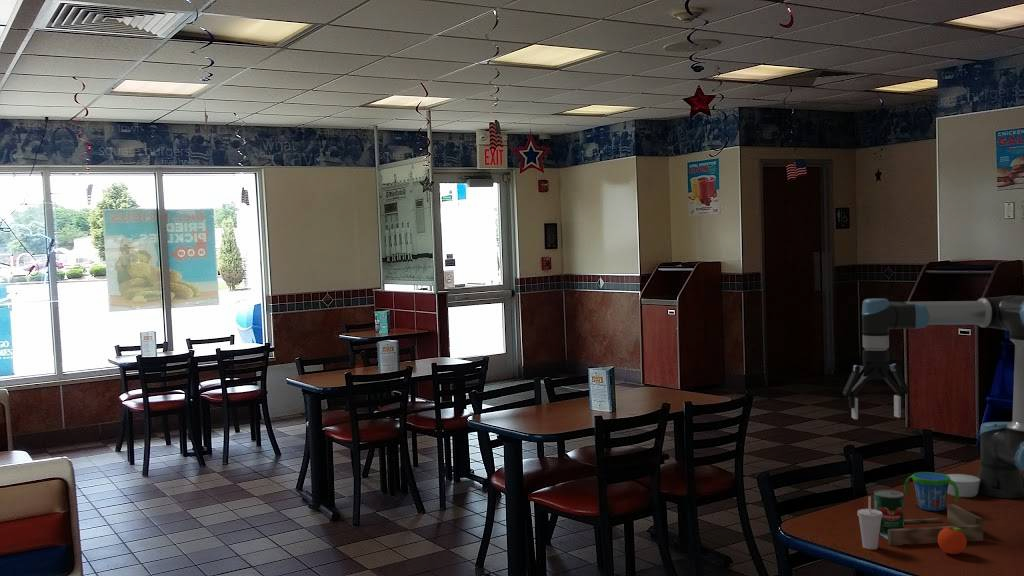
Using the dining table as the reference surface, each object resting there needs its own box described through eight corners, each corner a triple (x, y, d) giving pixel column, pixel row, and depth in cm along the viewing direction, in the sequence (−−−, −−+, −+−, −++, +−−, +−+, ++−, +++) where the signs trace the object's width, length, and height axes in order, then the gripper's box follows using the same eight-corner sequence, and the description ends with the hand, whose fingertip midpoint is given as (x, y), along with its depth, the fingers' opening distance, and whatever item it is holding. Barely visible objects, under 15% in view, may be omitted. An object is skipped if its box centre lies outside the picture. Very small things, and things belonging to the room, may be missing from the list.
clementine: (961, 548, 240) (961, 522, 240) (976, 557, 233) (976, 530, 233) (932, 549, 240) (932, 523, 240) (945, 558, 233) (945, 531, 233)
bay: (951, 520, 265) (951, 503, 265) (990, 540, 246) (990, 522, 246) (858, 524, 263) (858, 507, 262) (890, 545, 244) (890, 527, 244)
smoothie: (856, 549, 242) (855, 498, 241) (859, 542, 247) (858, 492, 247) (881, 552, 239) (881, 500, 238) (884, 545, 244) (883, 494, 244)
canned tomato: (886, 537, 250) (886, 498, 250) (868, 528, 258) (867, 490, 257) (910, 533, 252) (910, 495, 252) (891, 525, 260) (891, 488, 259)
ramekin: (934, 492, 295) (934, 476, 295) (957, 487, 300) (957, 472, 299) (963, 500, 285) (963, 484, 284) (987, 495, 289) (987, 479, 289)
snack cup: (898, 506, 279) (898, 474, 279) (914, 500, 286) (914, 468, 286) (948, 517, 267) (948, 483, 267) (964, 510, 274) (964, 477, 274)
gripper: (908, 346, 279) (908, 413, 280) (830, 348, 277) (831, 417, 278) (921, 348, 271) (921, 418, 272) (841, 351, 270) (842, 421, 270)
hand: (876, 417), depth 275 cm, fingers open, 13 cm apart
